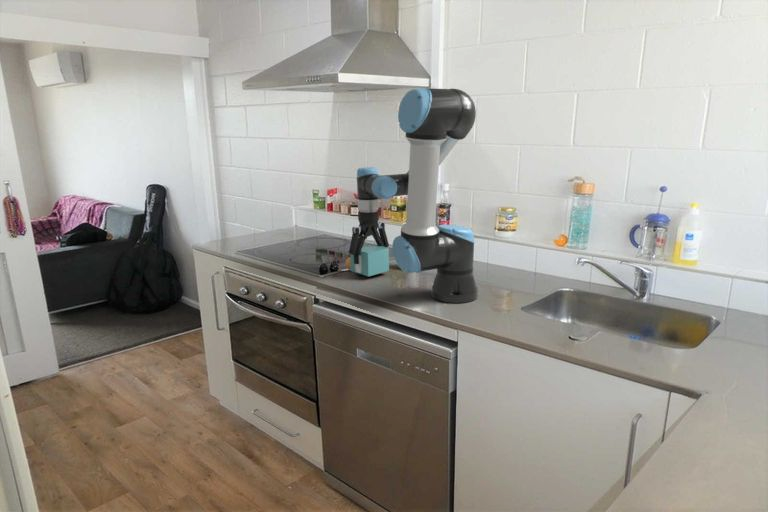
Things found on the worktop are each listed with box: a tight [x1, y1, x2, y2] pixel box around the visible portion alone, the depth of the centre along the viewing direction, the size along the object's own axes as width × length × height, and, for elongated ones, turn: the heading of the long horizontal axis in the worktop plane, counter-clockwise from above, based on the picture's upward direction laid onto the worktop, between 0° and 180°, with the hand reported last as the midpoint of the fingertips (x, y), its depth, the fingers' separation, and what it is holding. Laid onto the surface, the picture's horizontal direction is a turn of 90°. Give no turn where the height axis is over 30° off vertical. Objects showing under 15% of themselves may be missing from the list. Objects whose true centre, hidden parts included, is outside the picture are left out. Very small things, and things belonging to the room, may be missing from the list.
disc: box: [337, 262, 352, 272], centre depth 206 cm, size 12×12×1 cm
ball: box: [344, 256, 351, 269], centre depth 202 cm, size 5×5×5 cm
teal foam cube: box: [349, 243, 390, 278], centre depth 194 cm, size 10×10×9 cm
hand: (369, 269), depth 195 cm, fingers closed on teal foam cube, 10 cm apart
